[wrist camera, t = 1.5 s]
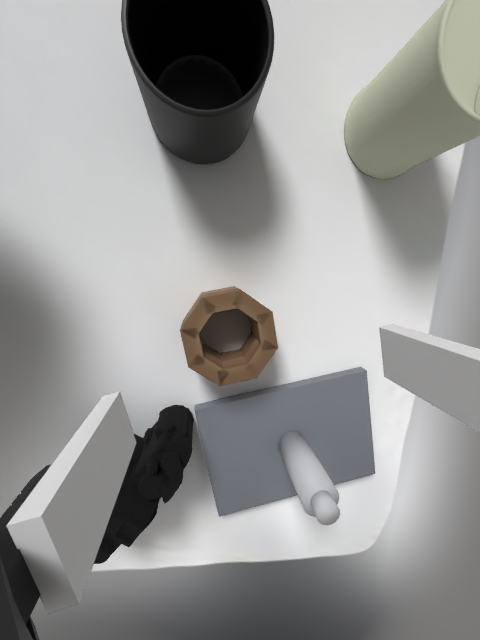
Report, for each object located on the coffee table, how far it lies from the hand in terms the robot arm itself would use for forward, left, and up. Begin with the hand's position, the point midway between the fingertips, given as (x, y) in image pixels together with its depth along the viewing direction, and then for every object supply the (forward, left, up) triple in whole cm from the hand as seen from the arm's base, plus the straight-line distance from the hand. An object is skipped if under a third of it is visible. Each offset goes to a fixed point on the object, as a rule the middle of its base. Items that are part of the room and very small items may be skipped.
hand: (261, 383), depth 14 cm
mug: (+2, +21, -17) cm, 27 cm away
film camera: (-13, -12, -17) cm, 25 cm away
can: (+20, +16, -17) cm, 31 cm away
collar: (0, -1, -17) cm, 17 cm away
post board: (+5, -16, -17) cm, 23 cm away
